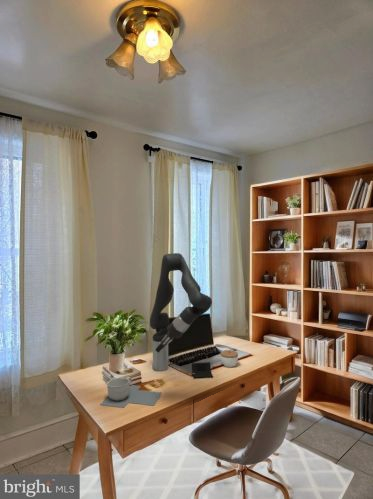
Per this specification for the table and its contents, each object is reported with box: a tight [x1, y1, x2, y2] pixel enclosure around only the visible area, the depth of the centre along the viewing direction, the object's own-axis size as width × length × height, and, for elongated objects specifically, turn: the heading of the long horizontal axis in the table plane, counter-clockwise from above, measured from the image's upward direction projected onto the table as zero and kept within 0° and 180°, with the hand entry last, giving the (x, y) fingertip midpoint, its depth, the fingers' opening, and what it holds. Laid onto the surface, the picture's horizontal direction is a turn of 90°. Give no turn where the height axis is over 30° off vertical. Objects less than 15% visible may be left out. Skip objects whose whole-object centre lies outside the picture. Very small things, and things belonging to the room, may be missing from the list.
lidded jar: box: [220, 349, 239, 368], centre depth 194 cm, size 11×11×9 cm
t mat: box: [99, 384, 163, 409], centre depth 155 cm, size 22×25×1 cm
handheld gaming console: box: [191, 362, 214, 380], centre depth 180 cm, size 12×7×10 cm
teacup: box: [106, 376, 132, 401], centre depth 155 cm, size 14×11×8 cm
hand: (157, 350), depth 154 cm, fingers closed
